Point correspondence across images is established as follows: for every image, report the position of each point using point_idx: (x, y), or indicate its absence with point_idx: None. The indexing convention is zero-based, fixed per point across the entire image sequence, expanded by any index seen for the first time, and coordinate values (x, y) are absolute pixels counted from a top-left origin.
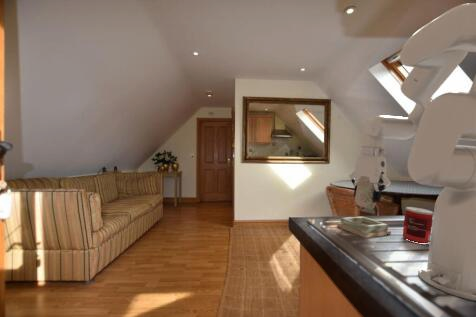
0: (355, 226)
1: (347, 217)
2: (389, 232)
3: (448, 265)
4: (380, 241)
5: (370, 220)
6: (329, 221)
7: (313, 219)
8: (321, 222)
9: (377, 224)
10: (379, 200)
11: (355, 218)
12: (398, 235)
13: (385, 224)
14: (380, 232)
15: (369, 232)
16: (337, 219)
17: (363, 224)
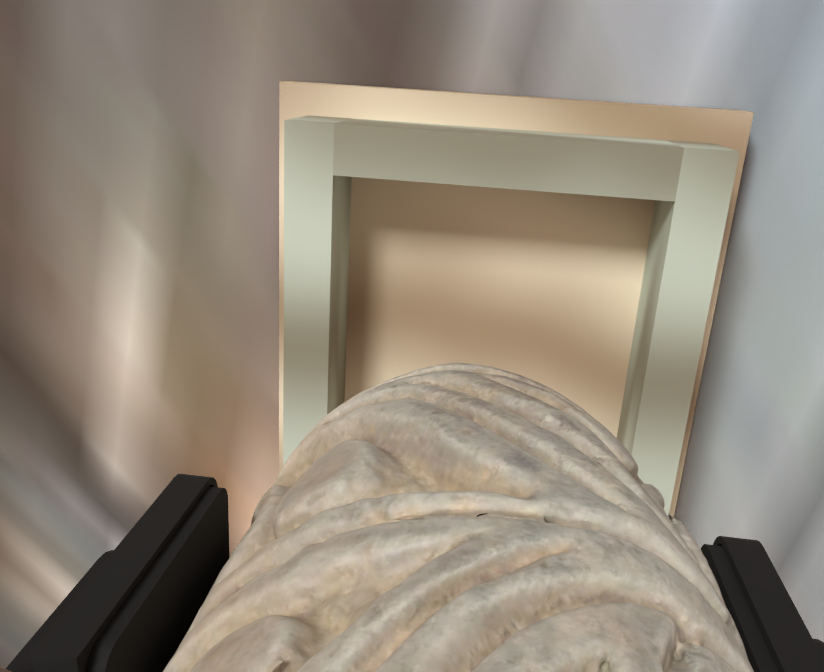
0: None
1: (285, 459)
2: (742, 142)
3: None
4: (791, 508)
5: (461, 182)
6: (124, 446)
7: (39, 565)
8: None
9: (656, 337)
10: (762, 565)
11: (331, 355)
12: (815, 9)
13: (714, 193)
14: (706, 338)
15: None
16: (61, 255)
17: (403, 228)
